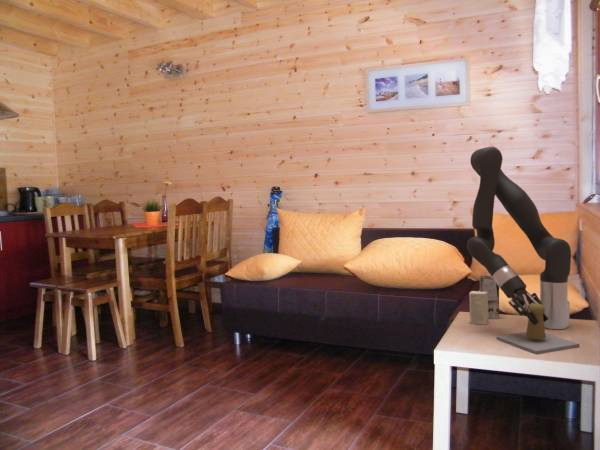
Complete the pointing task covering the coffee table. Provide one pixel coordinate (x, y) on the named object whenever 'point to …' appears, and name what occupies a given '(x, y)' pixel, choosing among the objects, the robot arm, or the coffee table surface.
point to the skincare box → (478, 307)
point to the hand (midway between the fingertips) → (541, 322)
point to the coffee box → (491, 295)
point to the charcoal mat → (537, 343)
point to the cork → (538, 329)
